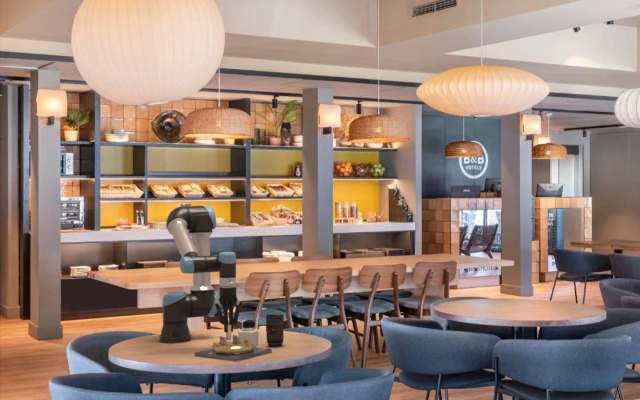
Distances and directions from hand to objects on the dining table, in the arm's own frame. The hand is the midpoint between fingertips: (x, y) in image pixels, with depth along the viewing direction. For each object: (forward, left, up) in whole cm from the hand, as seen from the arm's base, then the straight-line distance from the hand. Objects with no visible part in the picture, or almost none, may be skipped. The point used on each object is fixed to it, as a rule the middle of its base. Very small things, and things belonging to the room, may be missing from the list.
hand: (228, 339), depth 410 cm
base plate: (+5, -3, -6) cm, 8 cm away
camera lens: (+8, +23, -6) cm, 25 cm away
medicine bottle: (-3, +17, -6) cm, 18 cm away
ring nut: (+5, -3, -4) cm, 7 cm away
